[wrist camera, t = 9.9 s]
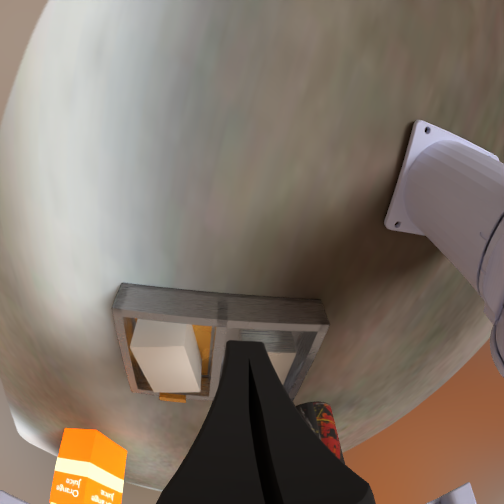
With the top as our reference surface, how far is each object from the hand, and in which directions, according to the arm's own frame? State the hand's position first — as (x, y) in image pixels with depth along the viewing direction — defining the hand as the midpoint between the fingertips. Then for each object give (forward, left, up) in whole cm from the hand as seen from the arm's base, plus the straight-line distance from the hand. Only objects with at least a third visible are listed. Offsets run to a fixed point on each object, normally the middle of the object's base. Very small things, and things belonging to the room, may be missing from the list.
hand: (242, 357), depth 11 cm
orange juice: (+19, +41, -10) cm, 46 cm away
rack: (0, +10, -10) cm, 14 cm away
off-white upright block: (+4, +10, -9) cm, 14 cm away
